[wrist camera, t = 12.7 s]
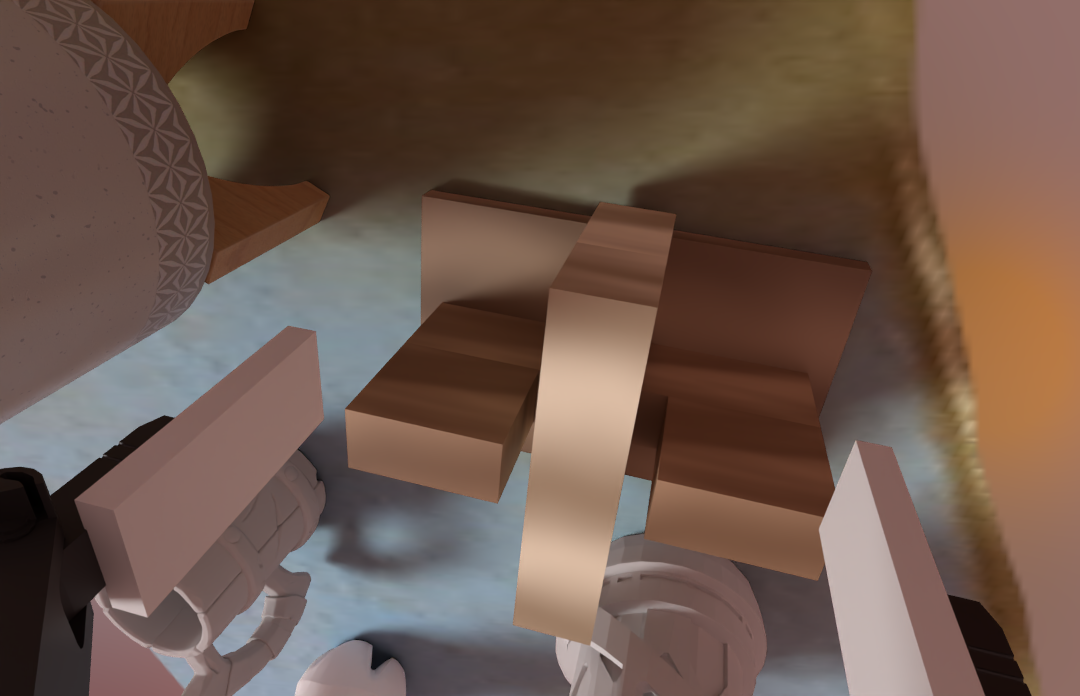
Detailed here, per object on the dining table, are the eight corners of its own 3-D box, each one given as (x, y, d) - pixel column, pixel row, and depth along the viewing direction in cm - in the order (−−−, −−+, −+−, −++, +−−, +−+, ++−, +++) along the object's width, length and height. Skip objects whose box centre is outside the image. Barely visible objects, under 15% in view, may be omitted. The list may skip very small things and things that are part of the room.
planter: (58, 171, 33) (-518, 323, 18) (97, -105, 26) (-767, -246, 11) (283, 313, 34) (-80, 576, 18) (376, 79, 27) (-70, 186, 12)
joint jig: (430, 189, 29) (306, 272, 20) (867, 261, 26) (940, 394, 17) (427, 417, 34) (330, 556, 26) (783, 497, 32) (806, 683, 23)
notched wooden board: (600, 202, 26) (549, 288, 18) (676, 214, 26) (657, 308, 18) (561, 477, 33) (512, 624, 25) (621, 491, 32) (590, 645, 25)
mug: (298, 419, 37) (133, 584, 26) (375, 578, 41) (261, 770, 31) (192, 432, 39) (4, 587, 29) (276, 580, 44) (140, 759, 34)
